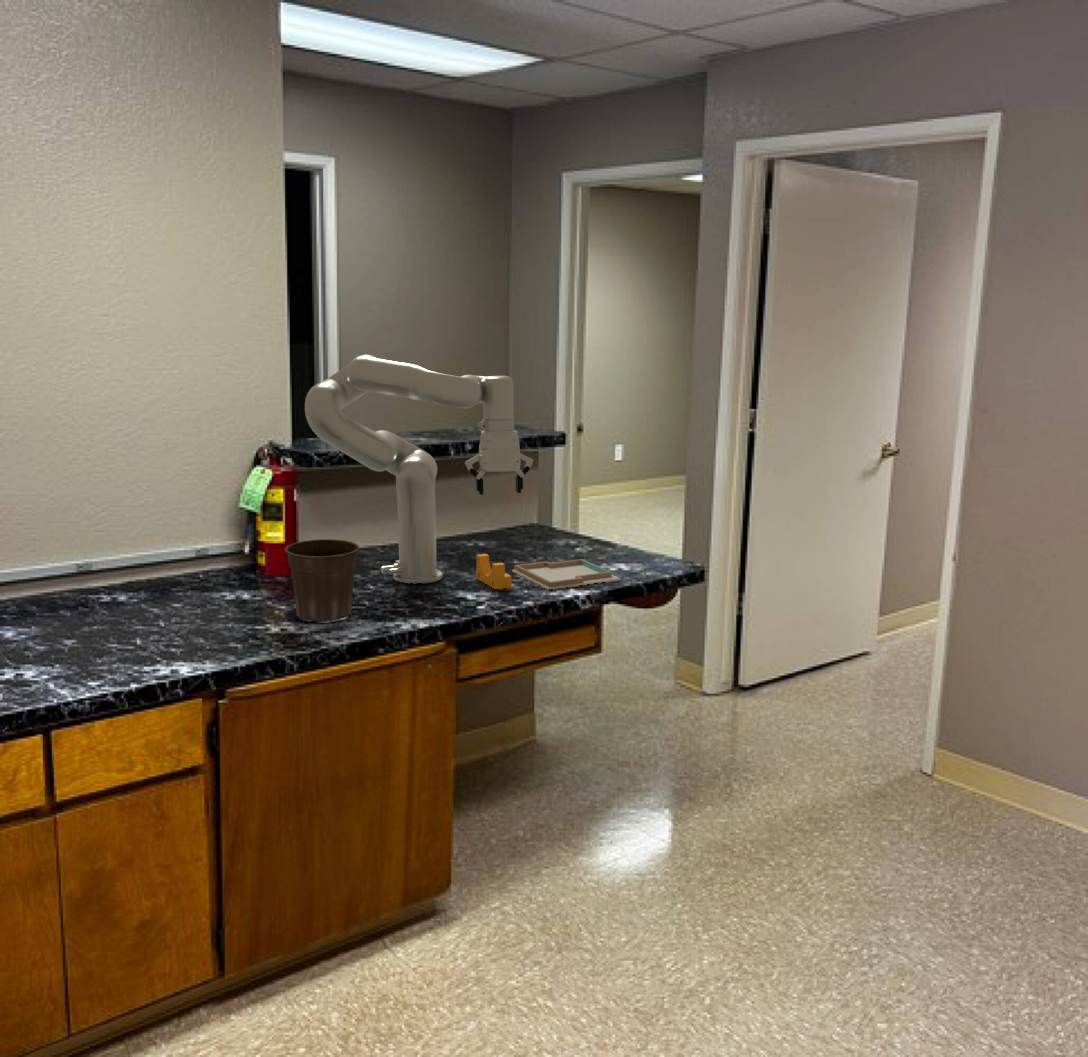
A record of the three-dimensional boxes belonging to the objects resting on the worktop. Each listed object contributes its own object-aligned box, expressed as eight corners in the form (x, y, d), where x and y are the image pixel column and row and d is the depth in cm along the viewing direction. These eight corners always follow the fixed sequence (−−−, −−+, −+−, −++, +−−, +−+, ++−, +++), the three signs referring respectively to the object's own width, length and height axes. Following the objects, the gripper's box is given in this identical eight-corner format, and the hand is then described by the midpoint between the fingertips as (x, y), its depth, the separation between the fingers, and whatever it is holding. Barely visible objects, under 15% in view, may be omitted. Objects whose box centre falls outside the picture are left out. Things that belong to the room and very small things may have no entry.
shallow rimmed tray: (547, 590, 266) (547, 583, 266) (512, 571, 284) (512, 565, 283) (620, 580, 276) (620, 573, 276) (581, 563, 293) (581, 556, 293)
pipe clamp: (511, 588, 268) (511, 563, 267) (495, 590, 266) (495, 565, 265) (492, 577, 279) (492, 553, 277) (476, 579, 277) (476, 554, 276)
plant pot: (375, 616, 244) (373, 547, 240) (314, 632, 232) (312, 559, 229) (334, 602, 255) (331, 535, 251) (274, 616, 244) (270, 546, 240)
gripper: (466, 428, 263) (468, 497, 267) (535, 426, 267) (536, 494, 271) (462, 425, 271) (463, 492, 274) (529, 422, 274) (530, 489, 278)
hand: (499, 493), depth 273 cm, fingers open, 9 cm apart
